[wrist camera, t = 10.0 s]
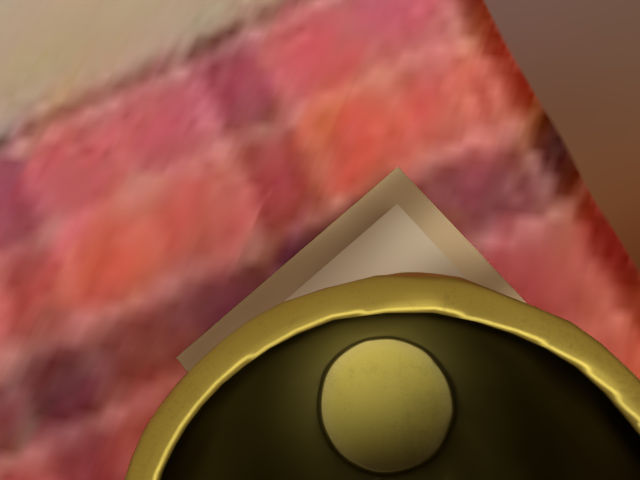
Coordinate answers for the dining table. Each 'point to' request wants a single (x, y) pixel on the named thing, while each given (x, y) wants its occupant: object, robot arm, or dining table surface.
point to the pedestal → (364, 256)
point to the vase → (399, 393)
